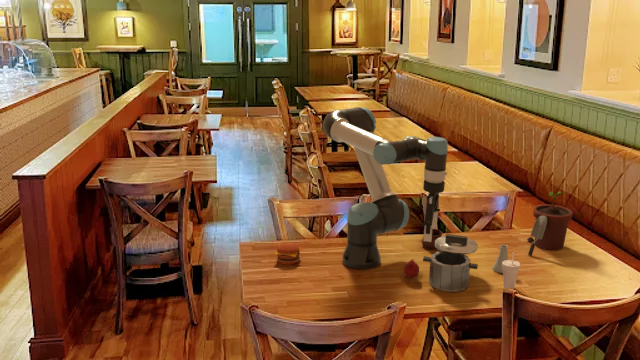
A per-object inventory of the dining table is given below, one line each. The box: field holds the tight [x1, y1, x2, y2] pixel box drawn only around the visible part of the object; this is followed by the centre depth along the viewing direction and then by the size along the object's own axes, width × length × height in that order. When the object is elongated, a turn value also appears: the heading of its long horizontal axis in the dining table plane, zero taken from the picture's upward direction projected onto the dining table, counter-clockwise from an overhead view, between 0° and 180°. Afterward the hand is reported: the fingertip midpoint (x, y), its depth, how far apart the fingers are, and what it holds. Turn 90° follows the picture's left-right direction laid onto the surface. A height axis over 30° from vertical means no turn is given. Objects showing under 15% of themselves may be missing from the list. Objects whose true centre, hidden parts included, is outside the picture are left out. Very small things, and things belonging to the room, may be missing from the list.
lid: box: [435, 233, 479, 255], centre depth 237 cm, size 16×16×4 cm
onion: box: [402, 258, 420, 280], centre depth 233 cm, size 6×6×8 cm
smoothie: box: [502, 251, 521, 290], centre depth 225 cm, size 6×6×14 cm
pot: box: [422, 251, 479, 293], centre depth 229 cm, size 20×14×10 cm
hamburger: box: [274, 242, 302, 265], centre depth 250 cm, size 9×10×7 cm
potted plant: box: [527, 191, 574, 256], centre depth 261 cm, size 18×22×25 cm
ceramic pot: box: [421, 228, 443, 251], centre depth 264 cm, size 18×18×7 cm
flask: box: [492, 244, 509, 274], centre depth 241 cm, size 7×7×10 cm
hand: (430, 234), depth 232 cm, fingers open, 13 cm apart
